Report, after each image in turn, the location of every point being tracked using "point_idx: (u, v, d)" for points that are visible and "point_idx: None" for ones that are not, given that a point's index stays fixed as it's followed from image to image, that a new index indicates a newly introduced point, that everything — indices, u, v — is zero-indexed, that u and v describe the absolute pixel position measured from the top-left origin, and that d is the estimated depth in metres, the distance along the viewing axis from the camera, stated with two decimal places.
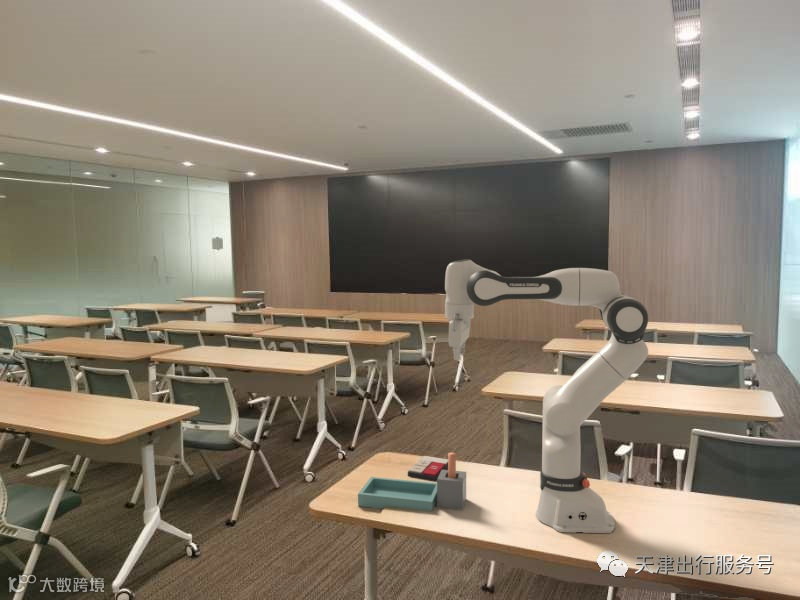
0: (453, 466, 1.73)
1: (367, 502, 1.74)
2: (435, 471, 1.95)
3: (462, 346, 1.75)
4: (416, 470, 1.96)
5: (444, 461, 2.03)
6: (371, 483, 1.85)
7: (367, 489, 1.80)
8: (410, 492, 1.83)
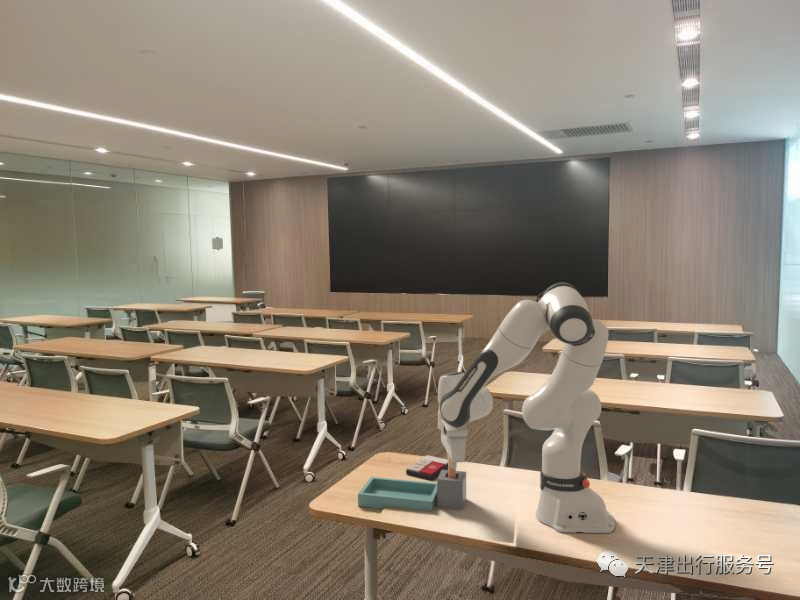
0: None
1: (367, 502, 1.74)
2: (433, 471, 1.95)
3: None
4: (414, 469, 1.97)
5: (444, 461, 2.03)
6: (371, 483, 1.85)
7: (367, 489, 1.80)
8: (410, 492, 1.83)
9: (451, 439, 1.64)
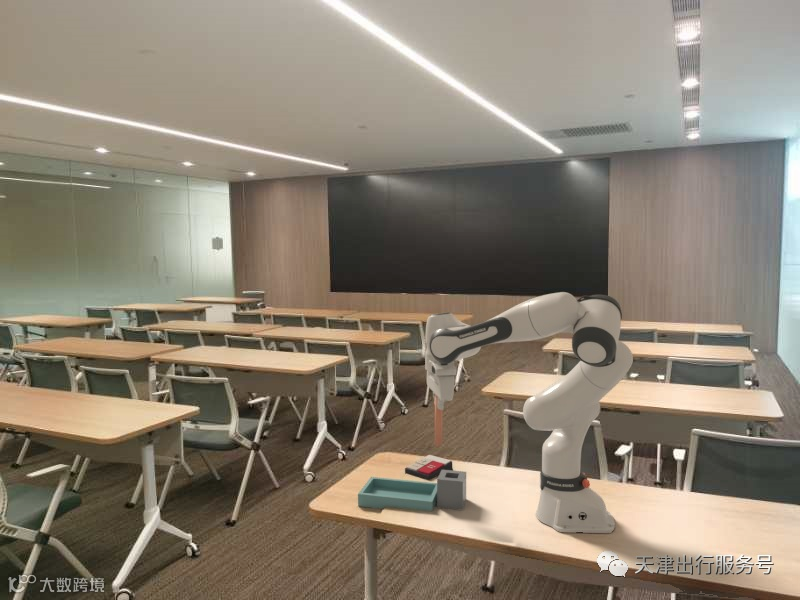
0: None
1: (367, 502, 1.74)
2: (430, 470, 1.96)
3: None
4: (413, 467, 1.98)
5: (445, 461, 2.03)
6: (371, 483, 1.85)
7: (367, 489, 1.80)
8: (410, 492, 1.83)
9: (440, 378, 1.63)
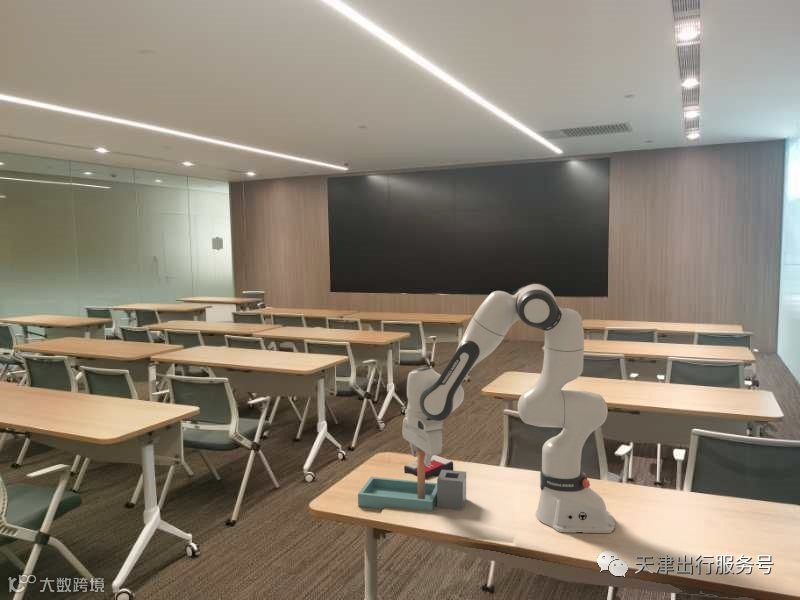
0: (423, 463, 1.75)
1: (367, 502, 1.74)
2: (427, 469, 1.96)
3: None
4: (411, 466, 2.00)
5: (445, 461, 2.03)
6: (371, 483, 1.85)
7: (367, 489, 1.80)
8: (410, 492, 1.83)
9: (429, 433, 1.67)
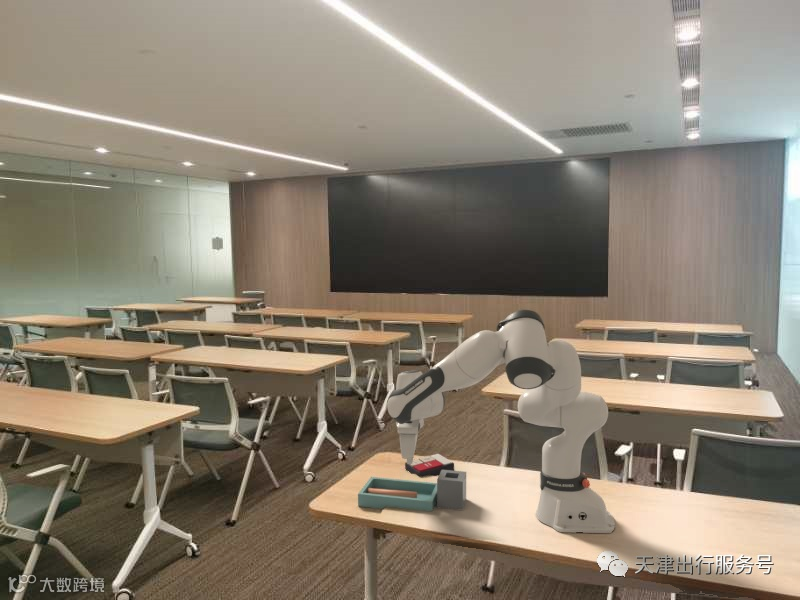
0: (378, 491, 1.79)
1: (367, 502, 1.74)
2: (424, 468, 1.98)
3: None
4: None
5: (446, 462, 2.02)
6: (371, 483, 1.85)
7: (367, 489, 1.80)
8: None
9: (401, 435, 1.67)
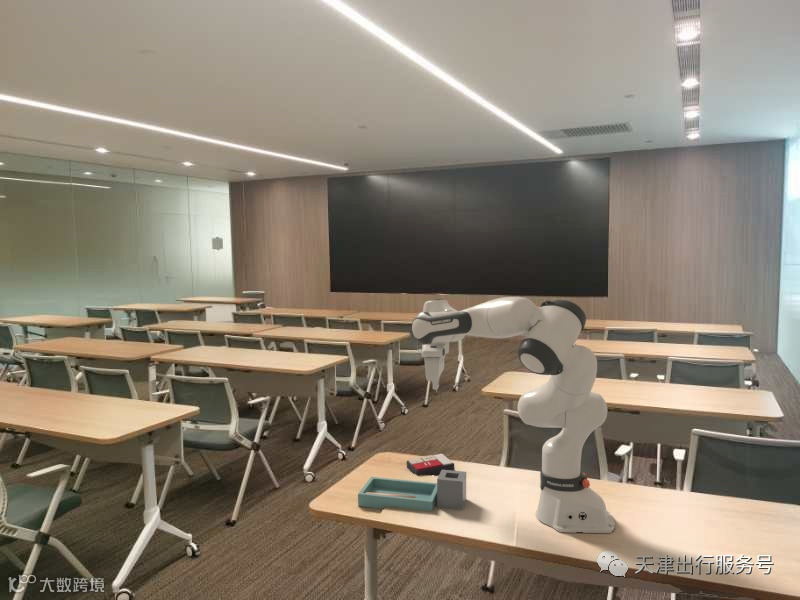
0: None
1: (367, 502, 1.74)
2: (422, 467, 1.99)
3: None
4: (411, 461, 2.05)
5: (446, 462, 2.02)
6: (371, 483, 1.85)
7: (367, 489, 1.80)
8: (410, 492, 1.83)
9: (426, 359, 1.74)
